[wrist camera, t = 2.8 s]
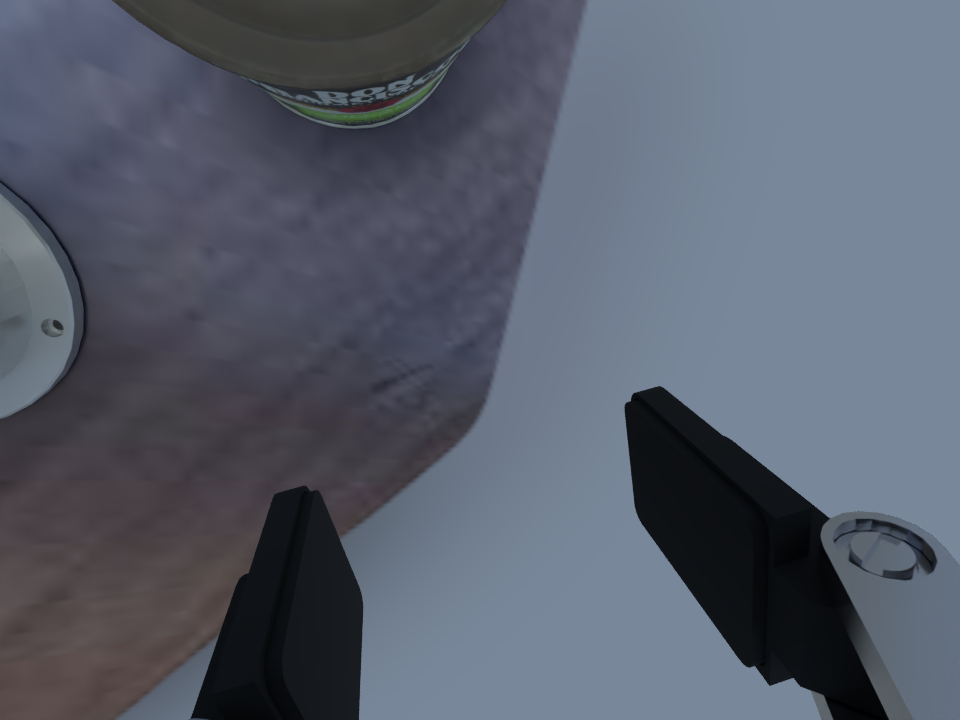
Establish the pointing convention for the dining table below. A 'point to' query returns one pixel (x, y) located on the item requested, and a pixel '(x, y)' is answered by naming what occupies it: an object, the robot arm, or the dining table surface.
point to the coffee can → (326, 48)
